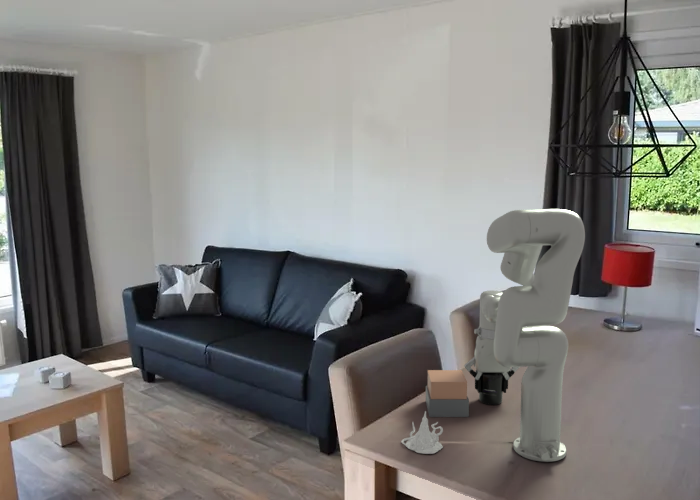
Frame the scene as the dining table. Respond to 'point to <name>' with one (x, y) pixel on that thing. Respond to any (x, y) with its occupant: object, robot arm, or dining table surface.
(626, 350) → the dining table surface
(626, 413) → the dining table surface
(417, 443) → the tentacle sculpture
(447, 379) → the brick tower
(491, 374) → the supplement bottle
